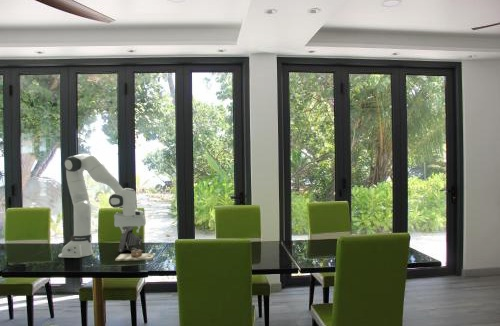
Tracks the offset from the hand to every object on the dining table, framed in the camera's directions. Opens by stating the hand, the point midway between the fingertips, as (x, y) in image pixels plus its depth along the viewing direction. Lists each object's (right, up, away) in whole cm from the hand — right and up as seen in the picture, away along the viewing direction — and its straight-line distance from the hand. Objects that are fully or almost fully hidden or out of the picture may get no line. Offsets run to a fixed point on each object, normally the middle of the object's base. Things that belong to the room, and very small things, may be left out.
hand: (130, 233), depth 254 cm
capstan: (+3, -16, +3) cm, 17 cm away
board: (+2, -18, +6) cm, 19 cm away
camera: (-7, -18, +25) cm, 32 cm away
